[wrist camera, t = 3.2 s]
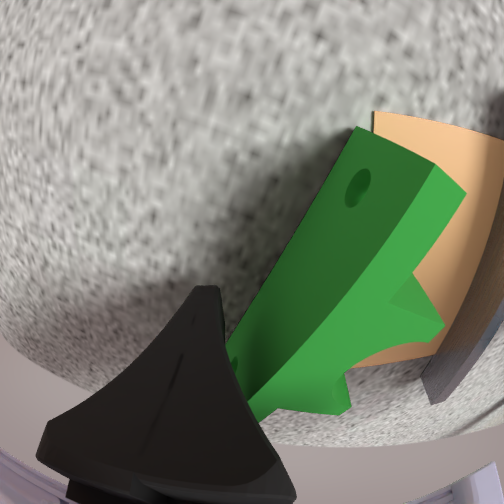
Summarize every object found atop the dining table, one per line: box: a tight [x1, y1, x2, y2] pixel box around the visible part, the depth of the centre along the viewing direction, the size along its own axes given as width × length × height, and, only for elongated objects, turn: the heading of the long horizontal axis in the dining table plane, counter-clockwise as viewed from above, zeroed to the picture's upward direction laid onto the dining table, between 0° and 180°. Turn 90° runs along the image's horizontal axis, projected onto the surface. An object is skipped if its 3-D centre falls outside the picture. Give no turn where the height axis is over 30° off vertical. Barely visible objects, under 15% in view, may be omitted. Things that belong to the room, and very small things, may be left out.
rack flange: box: [351, 111, 504, 405], centre depth 10 cm, size 10×18×2 cm, turn 2°
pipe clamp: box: [225, 126, 467, 423], centre depth 9 cm, size 11×4×5 cm, turn 155°
